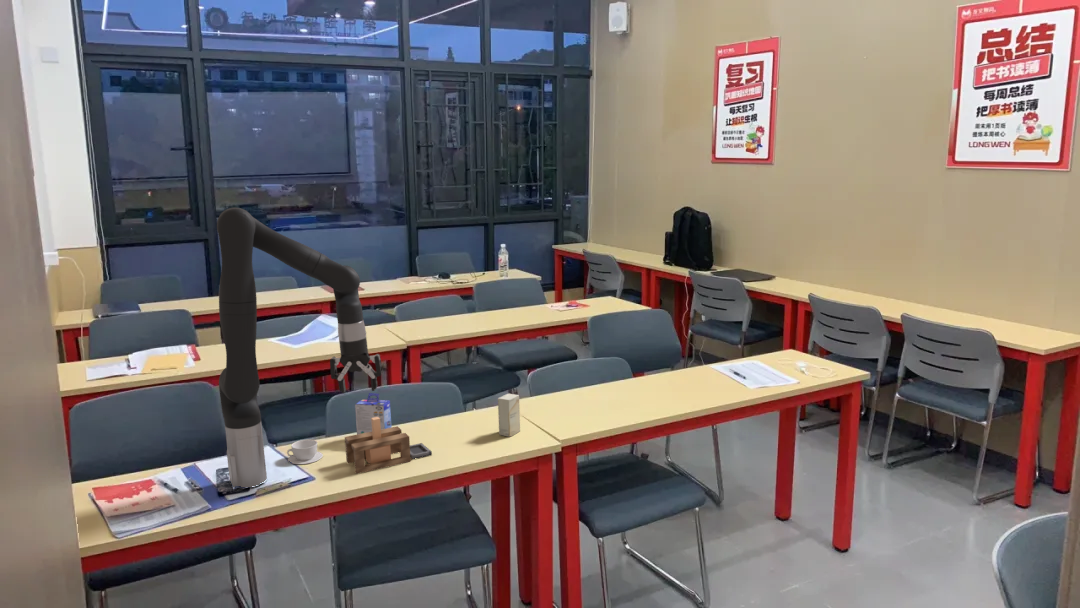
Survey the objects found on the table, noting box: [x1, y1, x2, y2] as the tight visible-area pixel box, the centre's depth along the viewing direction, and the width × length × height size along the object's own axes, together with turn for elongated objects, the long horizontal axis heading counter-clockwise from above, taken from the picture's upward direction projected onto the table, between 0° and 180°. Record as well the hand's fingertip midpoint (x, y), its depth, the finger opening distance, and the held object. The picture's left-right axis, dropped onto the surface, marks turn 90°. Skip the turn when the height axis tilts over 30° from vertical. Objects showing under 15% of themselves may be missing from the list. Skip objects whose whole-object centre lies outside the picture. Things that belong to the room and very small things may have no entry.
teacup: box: [286, 438, 324, 465], centre depth 227 cm, size 10×10×5 cm
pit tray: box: [410, 442, 433, 460], centre depth 229 cm, size 6×8×1 cm
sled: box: [365, 417, 392, 464], centre depth 222 cm, size 6×5×13 cm
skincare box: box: [497, 393, 521, 437], centre depth 243 cm, size 6×4×12 cm
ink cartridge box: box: [354, 392, 392, 435], centre depth 240 cm, size 10×6×14 cm, turn 78°
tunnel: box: [344, 425, 412, 475], centre depth 223 cm, size 16×10×8 cm, turn 120°
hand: (358, 391), depth 220 cm, fingers open, 8 cm apart
